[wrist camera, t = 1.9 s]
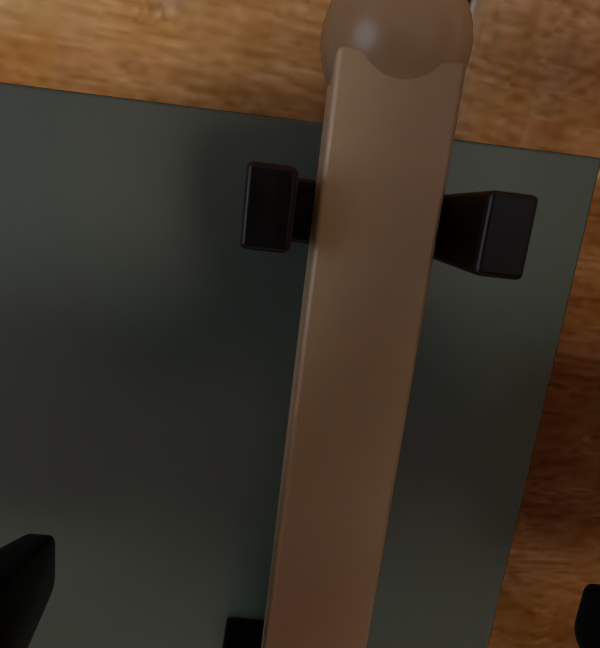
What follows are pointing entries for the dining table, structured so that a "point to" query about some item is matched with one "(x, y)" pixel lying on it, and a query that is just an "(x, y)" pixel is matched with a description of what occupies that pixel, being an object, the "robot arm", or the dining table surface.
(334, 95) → the beige rounded rod
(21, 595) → the robot arm
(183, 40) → the dining table surface
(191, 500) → the rack
